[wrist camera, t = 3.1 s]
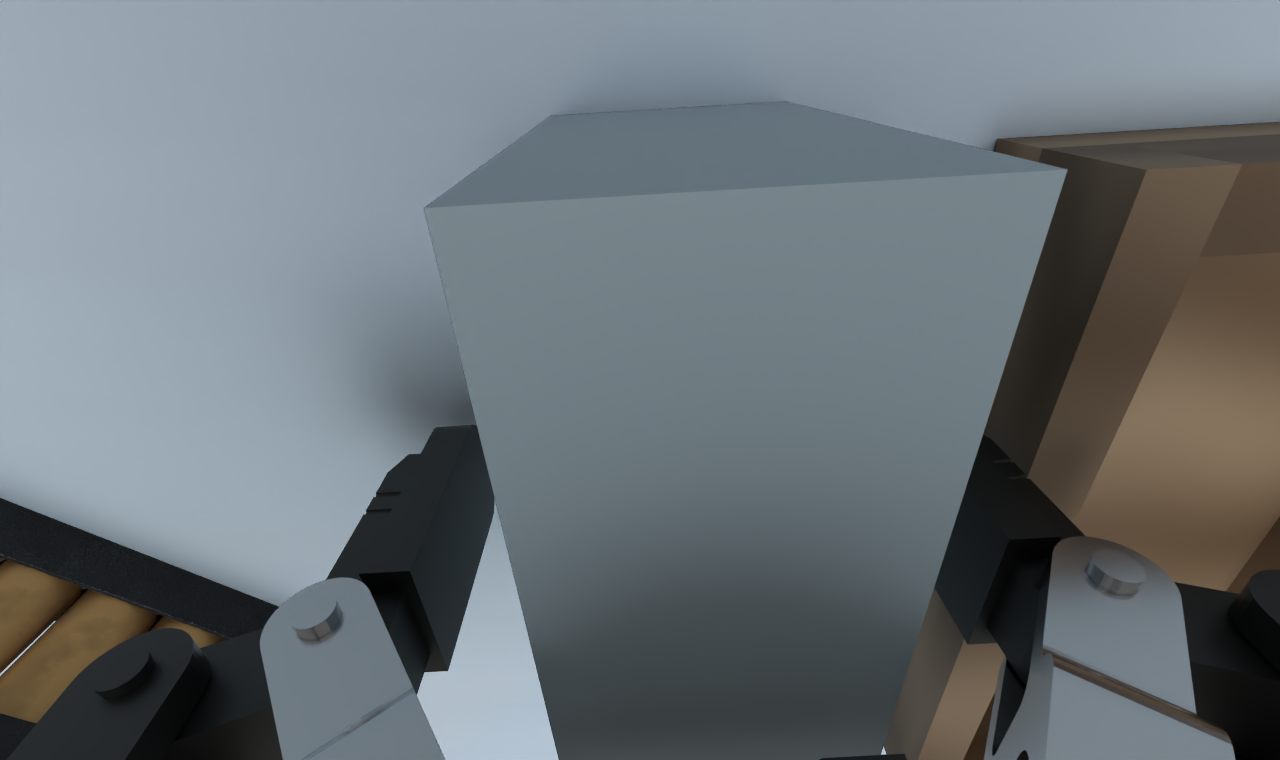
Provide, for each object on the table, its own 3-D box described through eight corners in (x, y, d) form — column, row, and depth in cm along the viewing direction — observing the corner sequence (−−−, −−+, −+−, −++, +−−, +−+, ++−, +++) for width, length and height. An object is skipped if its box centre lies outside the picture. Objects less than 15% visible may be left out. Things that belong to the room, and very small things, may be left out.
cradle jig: (997, 138, 10) (1146, 170, 7) (1535, 106, 10) (1901, 125, 7) (860, 683, 18) (903, 797, 15) (1149, 668, 18) (1245, 779, 15)
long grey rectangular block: (551, 115, 9) (423, 208, 3) (783, 101, 9) (1066, 170, 3) (608, 585, 15) (598, 921, 9) (750, 577, 15) (831, 908, 9)
